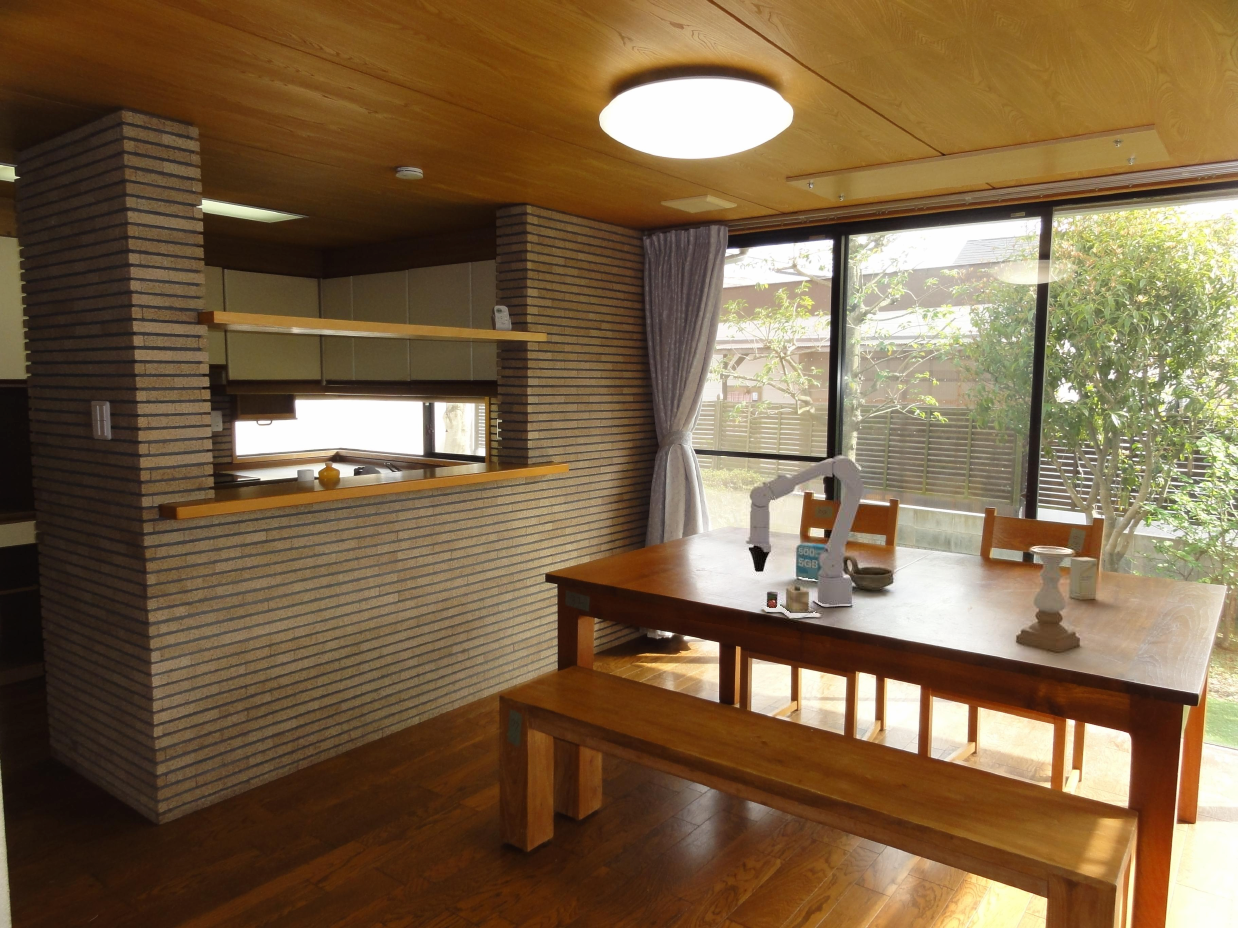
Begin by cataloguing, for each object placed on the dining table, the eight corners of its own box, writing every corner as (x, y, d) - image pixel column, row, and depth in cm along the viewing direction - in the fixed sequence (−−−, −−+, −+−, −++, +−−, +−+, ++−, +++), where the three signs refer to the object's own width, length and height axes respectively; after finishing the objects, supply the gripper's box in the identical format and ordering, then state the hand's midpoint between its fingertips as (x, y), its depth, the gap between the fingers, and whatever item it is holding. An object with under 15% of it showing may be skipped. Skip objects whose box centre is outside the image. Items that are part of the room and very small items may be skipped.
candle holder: (1058, 653, 200) (1063, 555, 198) (1014, 642, 209) (1018, 548, 206) (1080, 644, 206) (1085, 550, 204) (1037, 634, 215) (1041, 543, 213)
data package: (795, 579, 278) (796, 544, 277) (800, 576, 281) (801, 541, 280) (829, 584, 271) (830, 547, 270) (834, 581, 274) (835, 545, 273)
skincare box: (1079, 600, 249) (1081, 560, 248) (1067, 596, 254) (1069, 557, 253) (1096, 598, 251) (1098, 559, 250) (1084, 595, 255) (1086, 556, 254)
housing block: (801, 603, 239) (801, 584, 239) (808, 609, 234) (809, 588, 233) (785, 604, 239) (786, 584, 238) (793, 609, 233) (793, 589, 233)
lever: (766, 604, 240) (766, 591, 239) (777, 605, 239) (777, 591, 239) (766, 612, 231) (767, 598, 231) (777, 613, 231) (778, 599, 230)
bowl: (882, 596, 254) (883, 564, 253) (831, 587, 266) (831, 556, 266) (902, 588, 264) (903, 558, 263) (852, 580, 276) (853, 550, 275)
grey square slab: (804, 606, 243) (804, 601, 243) (820, 617, 231) (820, 611, 231) (761, 608, 241) (761, 603, 240) (775, 619, 229) (775, 614, 229)
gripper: (739, 522, 252) (738, 566, 253) (754, 530, 238) (754, 577, 239) (761, 522, 253) (760, 565, 255) (778, 530, 239) (777, 576, 240)
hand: (759, 571), depth 247 cm, fingers closed
